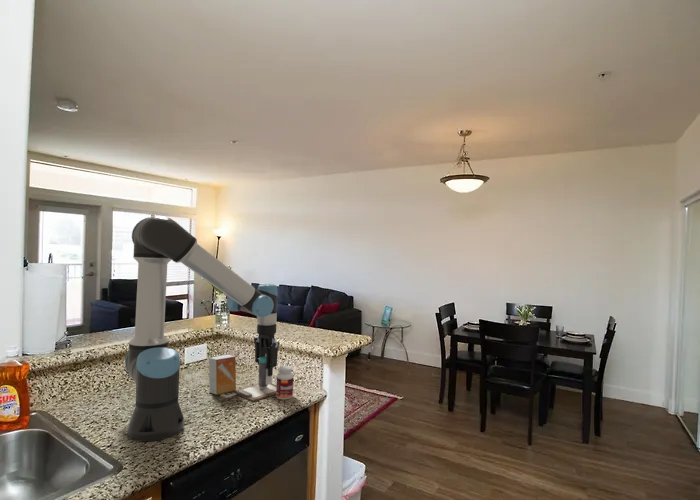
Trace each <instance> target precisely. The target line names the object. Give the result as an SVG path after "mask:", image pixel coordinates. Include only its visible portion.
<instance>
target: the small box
mask: <svg viewBox="0 0 700 500" xmlns="http://www.w3.org/2000/svg"><path fill="white" fill-rule="evenodd" d="M236 359H237V357H236V356H235V355H232V354H224V355H223V354H222V355H218V356H212V357H209V358H208V367H209V368H208V369H209V370H208V373H209V374H208V378H209V379H208V382H209V383H208V384H209V389H208V390H209V393H211V394H213V395H219V394H221V393H226V392H230V391H235V390H237V386H236V385H237V377H236V375H237V371H236V370H237V369H236V366H237V365H236V364H237V363H236V361H237V360H236Z"/></svg>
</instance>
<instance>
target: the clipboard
mask: <svg viewBox="0 0 700 500" xmlns="http://www.w3.org/2000/svg"><path fill="white" fill-rule="evenodd" d="M276 388H277V384H274V383H273V382H272V383H271V384H268V386H267V389H264V390H261V389H259V382H258V383H256V384H255V383H254V384H252V385H247V386H245V387H242V388H238V389H236V390H235V391H232V392H234V393H236V394H237V395H236V396H239V397H240V398H243V399H245V400H248V401H250V402H252V403H254V402H257V401H261V400H262V399H266V398H269V397H272V396H276Z"/></svg>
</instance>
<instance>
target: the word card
mask: <svg viewBox="0 0 700 500" xmlns="http://www.w3.org/2000/svg"><path fill="white" fill-rule="evenodd" d="M218 395H219V396H221V397H223V398H226V399H227V398H230V397H234V396H238V395H237V394H236V393H234V392H232V391H230V392H226V393H221V394H218Z"/></svg>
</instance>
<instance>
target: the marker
mask: <svg viewBox="0 0 700 500" xmlns="http://www.w3.org/2000/svg"><path fill="white" fill-rule="evenodd" d="M258 359H259V365H258V383H259V389H261V390H264V389H267V386H268V385H266V368H265V367H267V359H266V356H263V357H259V358H258Z"/></svg>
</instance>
